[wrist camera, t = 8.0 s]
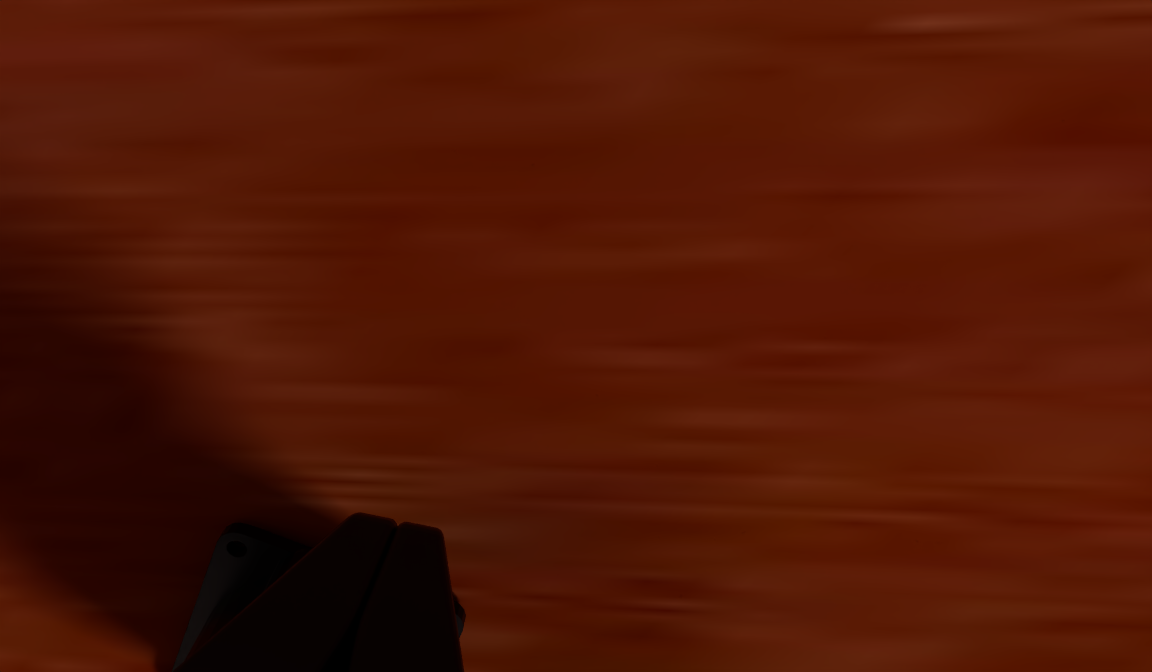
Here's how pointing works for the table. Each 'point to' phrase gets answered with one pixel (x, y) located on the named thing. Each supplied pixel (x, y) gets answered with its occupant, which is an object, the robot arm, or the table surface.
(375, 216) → the table surface
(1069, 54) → the table surface
